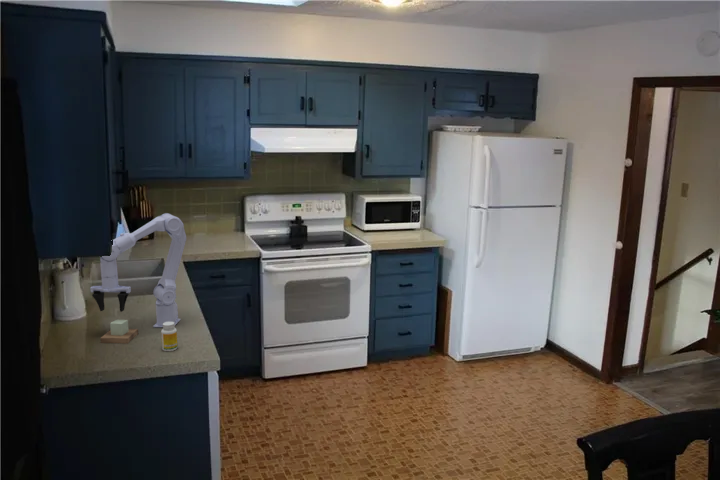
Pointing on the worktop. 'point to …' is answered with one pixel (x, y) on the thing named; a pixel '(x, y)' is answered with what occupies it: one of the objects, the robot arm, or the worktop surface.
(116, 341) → the brown square pad
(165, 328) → the supplement bottle
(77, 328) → the worktop surface
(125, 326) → the sage block
